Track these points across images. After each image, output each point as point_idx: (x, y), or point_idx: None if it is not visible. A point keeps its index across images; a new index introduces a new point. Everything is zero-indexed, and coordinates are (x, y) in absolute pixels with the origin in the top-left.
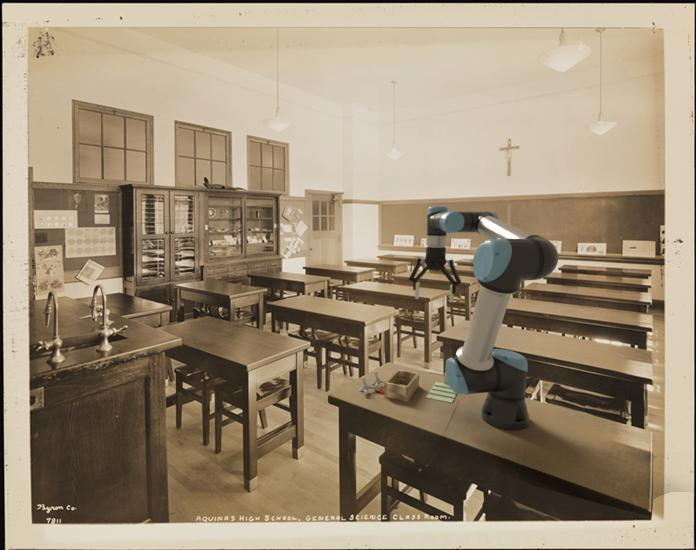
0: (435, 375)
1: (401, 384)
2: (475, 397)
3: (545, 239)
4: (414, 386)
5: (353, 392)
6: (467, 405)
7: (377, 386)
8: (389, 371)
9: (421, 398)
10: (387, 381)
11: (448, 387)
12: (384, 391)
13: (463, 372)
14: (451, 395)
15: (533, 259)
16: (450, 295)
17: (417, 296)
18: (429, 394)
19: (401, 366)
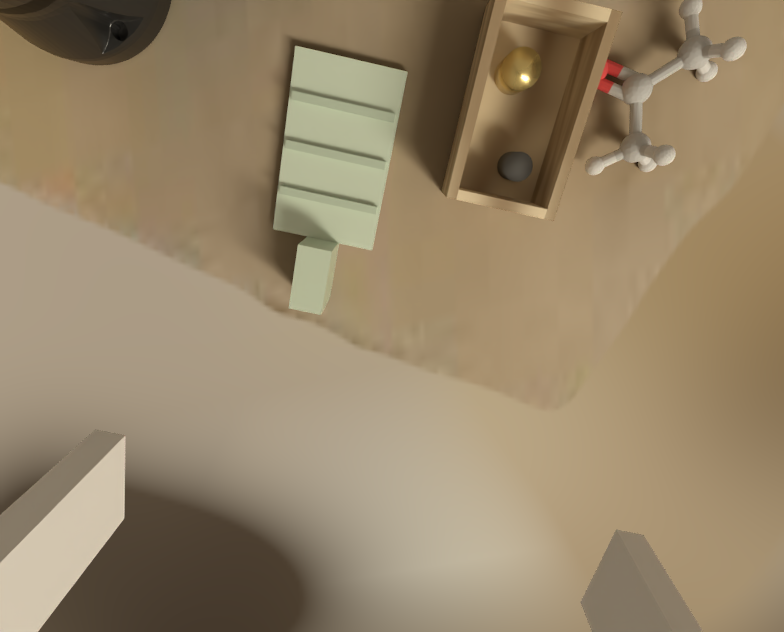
0: (377, 336)
1: (526, 87)
2: (209, 153)
3: None
4: (462, 116)
5: None
6: (234, 58)
7: (637, 78)
8: (568, 333)
9: (426, 77)
10: (607, 36)
11: (316, 193)
12: None
13: None
14: (301, 120)
15: None
16: (31, 512)
17: (624, 575)
18: (393, 105)
19: (518, 395)
